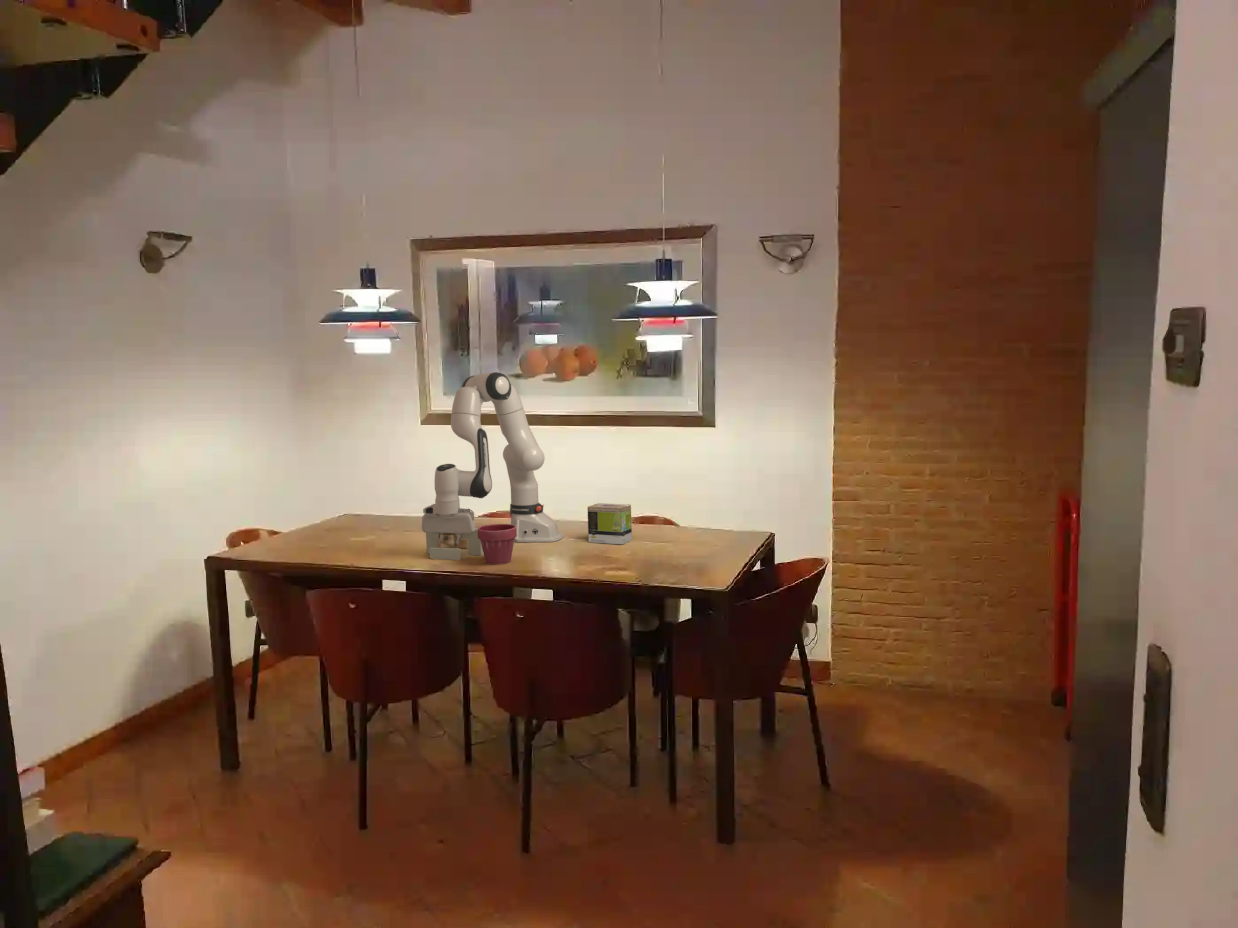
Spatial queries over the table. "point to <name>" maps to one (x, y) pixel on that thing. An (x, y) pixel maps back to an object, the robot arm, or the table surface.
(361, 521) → the table surface
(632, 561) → the table surface
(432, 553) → the grey boxy piece
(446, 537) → the cabinet block
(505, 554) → the plant pot
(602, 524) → the tea box
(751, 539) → the table surface
